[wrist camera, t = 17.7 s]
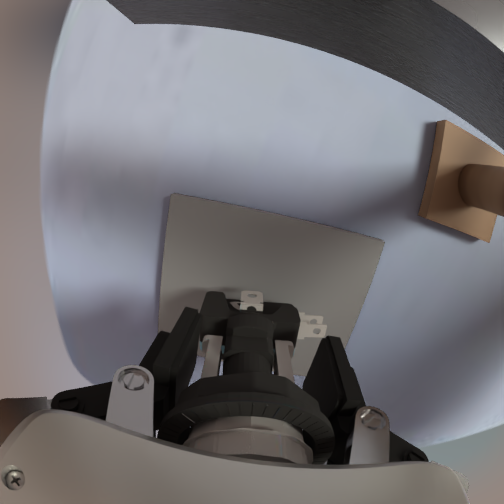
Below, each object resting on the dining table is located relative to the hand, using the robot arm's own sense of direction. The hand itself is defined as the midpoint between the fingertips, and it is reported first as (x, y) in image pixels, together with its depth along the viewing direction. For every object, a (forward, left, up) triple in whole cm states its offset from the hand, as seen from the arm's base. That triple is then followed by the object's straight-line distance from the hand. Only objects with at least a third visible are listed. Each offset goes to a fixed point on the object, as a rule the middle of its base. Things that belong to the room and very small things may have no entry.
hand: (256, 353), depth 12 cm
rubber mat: (0, 0, -6) cm, 6 cm away
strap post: (-11, -10, -6) cm, 16 cm away
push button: (0, 0, -4) cm, 4 cm away
